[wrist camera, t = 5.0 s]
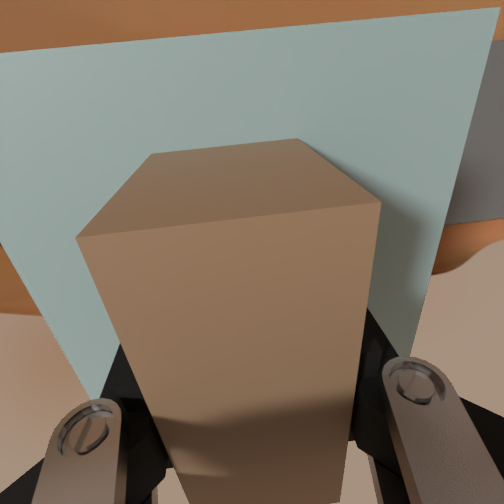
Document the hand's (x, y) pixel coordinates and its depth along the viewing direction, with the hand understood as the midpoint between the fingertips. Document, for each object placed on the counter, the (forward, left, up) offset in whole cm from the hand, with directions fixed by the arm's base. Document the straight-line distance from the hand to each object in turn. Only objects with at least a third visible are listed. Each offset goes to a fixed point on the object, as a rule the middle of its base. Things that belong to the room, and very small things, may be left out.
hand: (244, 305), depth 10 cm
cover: (0, 0, -2) cm, 2 cm away
